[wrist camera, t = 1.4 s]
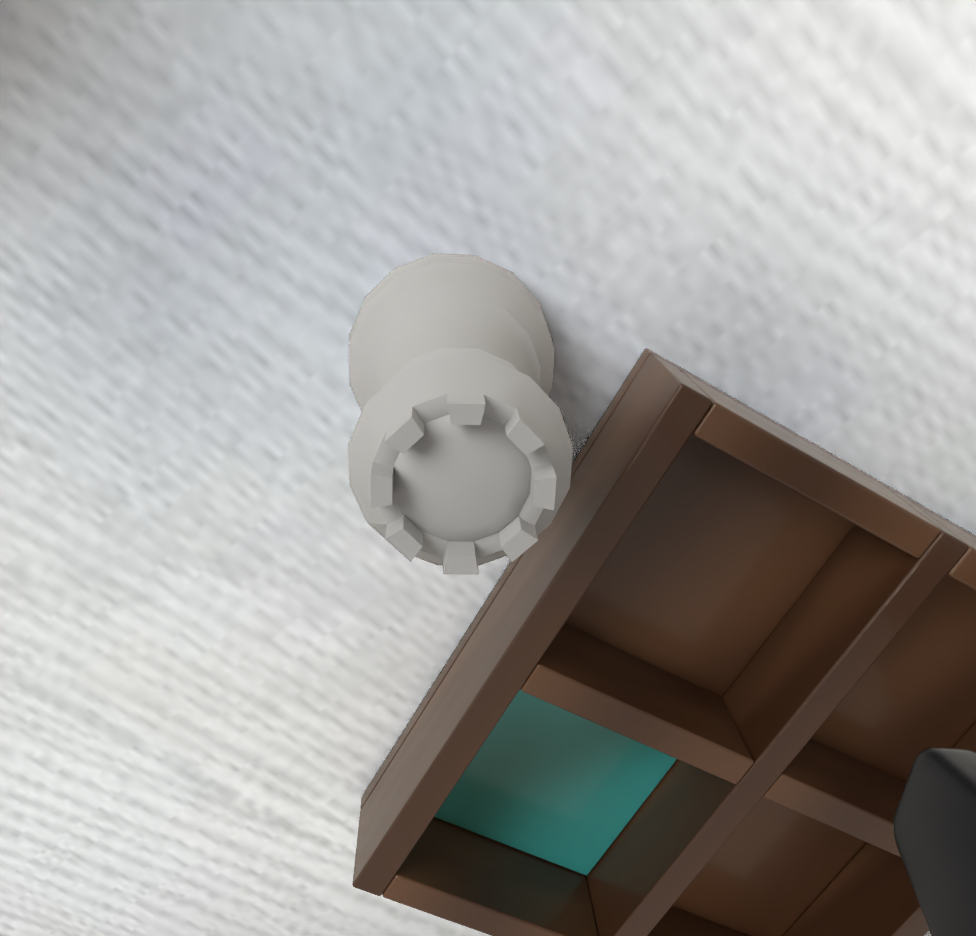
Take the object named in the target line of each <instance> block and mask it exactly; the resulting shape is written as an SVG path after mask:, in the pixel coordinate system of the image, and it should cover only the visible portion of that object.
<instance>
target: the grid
mask: <svg viewBox="0 0 976 936" xmlns="http://www.w3.org/2000/svg"><path fill="white" fill-rule="evenodd" d="M537 538H538V541H537V542H536V543H534V544H533V545H532V546H531V547H530V548H528V549H527V550H526V551H525V552H524V553H522V554H521V555H520V556H519V557H518V558H517V559H515V560H514V561H513V562H510V563H509V565H508V566H507V568H506V570H505V571H504V573H503V574H502V576H501V578H500V579H499V581H498V582H497V584H496V585H495V587H494V589H493V590H492V592H491V593H490V595H489V597H488V598H487V600H486V601H485V603H484V604H483V606H482V608H481V609H480V611H479V612H478V614H477V616H476V617H475V619H474V620H473V622H472V623H471V625H470V627H469V628H468V630H467V631H466V633H465V635H464V636H463V638H462V639H461V641H460V642H459V644H458V646H457V647H456V649H455V650H454V652H453V654H452V655H451V657H450V658H449V660H448V661H447V663H446V665H445V666H444V668H443V669H442V671H441V672H440V674H439V676H438V677H437V679H436V680H435V682H434V684H433V685H432V687H431V688H430V690H429V691H428V693H427V695H426V696H425V698H424V699H423V701H422V703H421V704H420V706H419V707H418V709H417V710H416V712H415V714H414V715H413V717H412V718H411V720H410V722H409V723H408V725H407V726H406V728H405V729H404V731H403V733H402V734H401V736H400V737H399V739H398V741H397V742H396V744H395V745H394V747H393V748H392V750H391V752H390V753H389V755H388V756H387V758H386V760H385V761H384V763H383V764H382V766H381V767H380V769H379V771H378V772H377V774H376V775H375V777H374V779H373V780H372V782H371V783H370V785H369V786H368V788H367V790H366V791H365V793H364V794H363V796H362V799H361V811H360V819H359V829H358V838H357V848H356V857H355V866H354V876H353V886H354V887H355V888H358V889H361V890H364V891H367V892H369V893H372V894H375V895H378V896H381V895H383V897H385V898H387V899H390V900H393V901H396V902H399V903H401V904H404V905H407V906H410V907H413V908H416V909H418V910H421V911H424V912H427V913H430V914H432V915H435V916H438V917H441V918H444V919H446V920H449V921H452V922H455V923H458V924H461V925H463V926H466V927H469V928H472V929H475V930H477V931H480V932H483V933H486V934H489V935H492V936H924V935H925V934H926V933H927V932H928V931H929V927H928V925H927V922H926V920H925V917H924V915H923V912H922V910H921V907H920V904H919V902H918V899H917V897H916V894H915V892H914V889H913V887H912V884H911V881H910V879H909V876H908V874H907V871H906V869H905V866H904V864H903V861H902V858H901V856H900V853H899V851H898V848H897V845H896V841H895V837H894V827H893V826H894V816H895V812H896V810H897V807H898V804H899V801H900V798H901V796H902V793H903V790H904V787H905V784H906V781H907V779H908V776H909V773H910V770H911V767H912V765H913V762H914V760H915V758H916V756H917V755H918V754H919V753H920V752H921V751H922V750H924V749H927V748H954V749H965V750H969V751H972V752H974V753H976V536H975V535H973V534H971V533H970V532H968V531H966V530H964V529H963V528H961V527H959V526H957V525H956V524H954V523H952V522H950V521H949V520H947V519H945V518H943V517H942V516H940V515H938V514H936V513H934V512H933V511H931V510H929V509H927V508H926V507H924V506H922V505H920V504H919V503H917V502H915V501H913V500H912V499H910V498H908V497H906V496H905V495H903V494H901V493H899V492H898V491H896V490H894V489H892V488H891V487H889V486H887V485H885V484H884V483H882V482H880V481H878V480H877V479H875V478H873V477H871V476H870V475H868V474H866V473H864V472H863V471H861V470H859V469H857V468H856V467H854V466H852V465H850V464H849V463H847V462H845V461H843V460H842V459H840V458H838V457H836V456H835V455H833V454H831V453H829V452H828V451H826V450H824V449H822V448H821V447H819V446H817V445H815V444H814V443H812V442H810V441H808V440H807V439H805V438H803V437H801V436H800V435H798V434H796V433H794V432H793V431H791V430H789V429H787V428H786V427H784V426H782V425H780V424H779V423H777V422H775V421H773V420H771V419H770V418H768V417H766V416H764V415H763V414H761V413H759V412H757V411H756V410H754V409H752V408H750V407H749V406H747V405H745V404H743V403H742V402H740V401H738V400H736V399H735V398H733V397H731V396H729V395H728V394H726V393H724V392H722V391H721V390H719V389H717V388H715V387H714V386H712V385H710V384H708V383H707V382H705V381H703V380H701V379H700V378H698V377H696V376H694V375H693V374H691V373H689V372H687V371H686V370H684V369H682V368H680V367H679V366H677V365H675V364H673V363H672V362H670V361H668V360H666V359H665V358H663V357H661V356H659V355H658V354H656V353H654V352H652V351H651V350H649V349H645V350H644V351H643V353H642V354H641V356H640V358H639V359H638V361H637V362H636V364H635V365H634V367H633V369H632V370H631V372H630V373H629V375H628V377H627V378H626V380H625V381H624V383H623V384H622V386H621V388H620V389H619V391H618V392H617V394H616V396H615V397H614V399H613V400H612V402H611V403H610V405H609V407H608V408H607V410H606V411H605V413H604V415H603V416H602V418H601V419H600V421H599V422H598V424H597V426H596V427H595V429H594V430H593V432H592V434H591V435H590V437H589V438H588V440H587V441H586V443H585V445H584V446H583V448H582V449H581V451H580V453H579V454H578V456H577V457H576V459H575V460H574V462H573V464H572V467H571V479H570V489H569V491H568V492H567V494H566V496H565V498H564V500H563V502H562V504H561V506H560V507H559V509H558V511H557V513H556V515H555V517H554V519H553V521H552V523H551V524H550V525H549V526H548V527H547V528H546V529H544V530H543V531H542V532H541V533H540V534H539V535H537Z"/></svg>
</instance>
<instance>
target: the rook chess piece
mask: <svg viewBox="0 0 976 936" xmlns="http://www.w3.org/2000/svg"><path fill="white" fill-rule="evenodd" d="M349 337H350V344H349V372H350V387H351V389H352V391H353V393H354V395H355V398H356V400H357V402H358V404H359V407H360V409H361V411H362V413H361V416H360V418H359V420H358V423H357V425H356V427H355V430H354V432H353V435H352V437H351V439H350V442H349V483H350V487H351V489H352V491H353V494H354V496H355V498H356V500H357V502H358V504H359V506H360V508H361V511H362V513H363V515H364V517H365V519H366V521H367V523H368V524H369V525H370V526H372V527H373V528H374V529H375V530H376V531H377V532H378V533H379V534H380V535H382V536H383V537H384V538H385V539H386V540H387V541H388V542H389V543H390V544H391V545H393V546H394V547H395V548H396V549H397V550H398V551H399V552H400V553H401V554H403V555H404V556H405V557H406V558H407V559H408V560H409V561H410V562H411V561H412V559H413V558H414V557H417V558H420V559H423V560H425V561H428V562H431V563H433V564H436V565H443V574H479V572H478V565H481V564H484V563H487V562H490V561H493V560H495V559H498V558H501V557H504V556H508V558H509V559H510V561H511V562H513V561H514V560H515V559H517V558H518V557H519V556H520V555H521V554H522V553H524V552H525V551H526V550H527V549H528V548H530V547H531V546H532V545H533V544H534V543H536V542H537V541H538V538H537V535H539V534H540V533H541V532H542V531H543V530H544V529H546V528H547V527H548V526H549V525H550V524H551V523H552V521H553V519H554V517H555V515H556V513H557V511H558V509H559V507H560V506H561V504H562V502H563V500H564V498H565V496H566V494H567V492H568V491H569V489H570V479H571V467H572V455H573V446H572V443H571V440H570V437H569V434H568V431H567V428H566V426H565V423H564V420H563V417H562V414H561V411H560V409H559V407H558V406H557V405H556V404H555V403H554V402H553V401H552V400H551V399H550V398H549V395H550V393H551V391H552V383H553V369H554V355H555V349H554V346H553V343H552V341H553V340H552V337H551V334H550V331H549V329H548V326H547V323H546V320H545V317H544V314H543V311H542V308H541V305H540V303H539V301H538V300H537V299H536V298H535V297H534V296H533V295H532V294H531V293H530V291H529V290H528V289H527V288H526V287H525V286H524V285H523V284H522V283H521V281H520V280H519V279H518V278H517V277H516V276H515V275H514V274H513V273H512V272H510V271H508V270H506V269H504V268H502V267H499V266H497V265H495V264H493V263H491V262H489V261H487V260H484V259H482V258H480V257H478V256H476V255H458V254H431V255H428V256H426V257H423V258H420V259H418V260H415V261H413V262H410V263H408V264H405V265H402V266H400V267H397V268H395V269H393V270H392V271H391V272H390V273H389V274H388V275H387V276H386V277H385V278H384V279H383V280H382V281H381V282H380V283H379V284H378V285H377V286H376V287H375V288H374V289H373V290H372V291H371V292H370V293H369V294H368V295H367V296H366V297H365V298H364V300H363V303H362V305H361V308H360V310H359V313H358V315H357V318H356V320H355V323H354V325H353V327H352V330H351V332H350V335H349Z"/></svg>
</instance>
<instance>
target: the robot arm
mask: <svg viewBox="0 0 976 936" xmlns="http://www.w3.org/2000/svg"><path fill="white" fill-rule="evenodd" d="M893 827H894V837H895V841H896V845H897V848H898V851H899V853H900V856H901V858H902V861H903V864H904V866H905V869H906V871H907V874H908V876H909V879H910V881H911V884H912V887H913V889H914V892H915V894H916V897H917V899H918V902H919V904H920V907H921V910H922V912H923V915H924V917H925V920H926V922H927V925H928V927H929V930H930V933H931V935H932V936H976V753H974V752H972V751H969V750H965V749H954V748H927V749H924V750H922V751H921V752H920V753H919V754H918V755H917V756H916V758H915V760H914V762H913V765H912V767H911V770H910V773H909V776H908V779H907V781H906V784H905V787H904V790H903V793H902V796H901V798H900V801H899V804H898V807H897V810H896V812H895V816H894V826H893Z"/></svg>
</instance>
